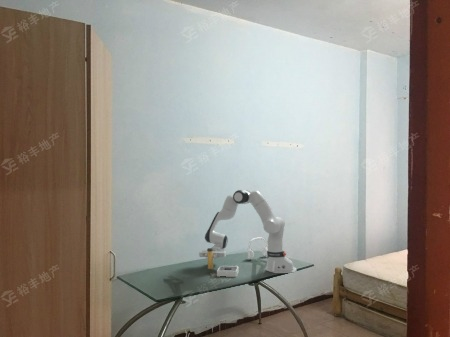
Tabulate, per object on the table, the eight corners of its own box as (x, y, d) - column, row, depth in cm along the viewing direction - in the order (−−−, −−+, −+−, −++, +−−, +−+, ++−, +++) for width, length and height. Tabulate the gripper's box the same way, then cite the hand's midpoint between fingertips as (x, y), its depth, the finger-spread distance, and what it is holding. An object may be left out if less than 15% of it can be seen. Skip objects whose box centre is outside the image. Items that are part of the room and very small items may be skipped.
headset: (251, 260, 281) (250, 239, 282) (246, 259, 287) (245, 238, 288) (269, 257, 292) (269, 236, 292) (264, 255, 298) (264, 235, 298)
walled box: (238, 271, 250) (238, 266, 250) (236, 276, 237) (236, 271, 237) (220, 271, 252) (219, 265, 252) (216, 276, 239) (216, 270, 239)
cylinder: (213, 267, 251) (213, 248, 252) (212, 269, 248) (212, 249, 248) (208, 267, 252) (207, 248, 252) (207, 269, 248) (206, 249, 249)
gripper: (201, 248, 265) (196, 251, 252) (227, 248, 260) (222, 252, 247) (202, 256, 265) (196, 260, 252) (227, 256, 260) (223, 261, 247)
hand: (209, 256), depth 249 cm, fingers closed on cylinder, 4 cm apart
